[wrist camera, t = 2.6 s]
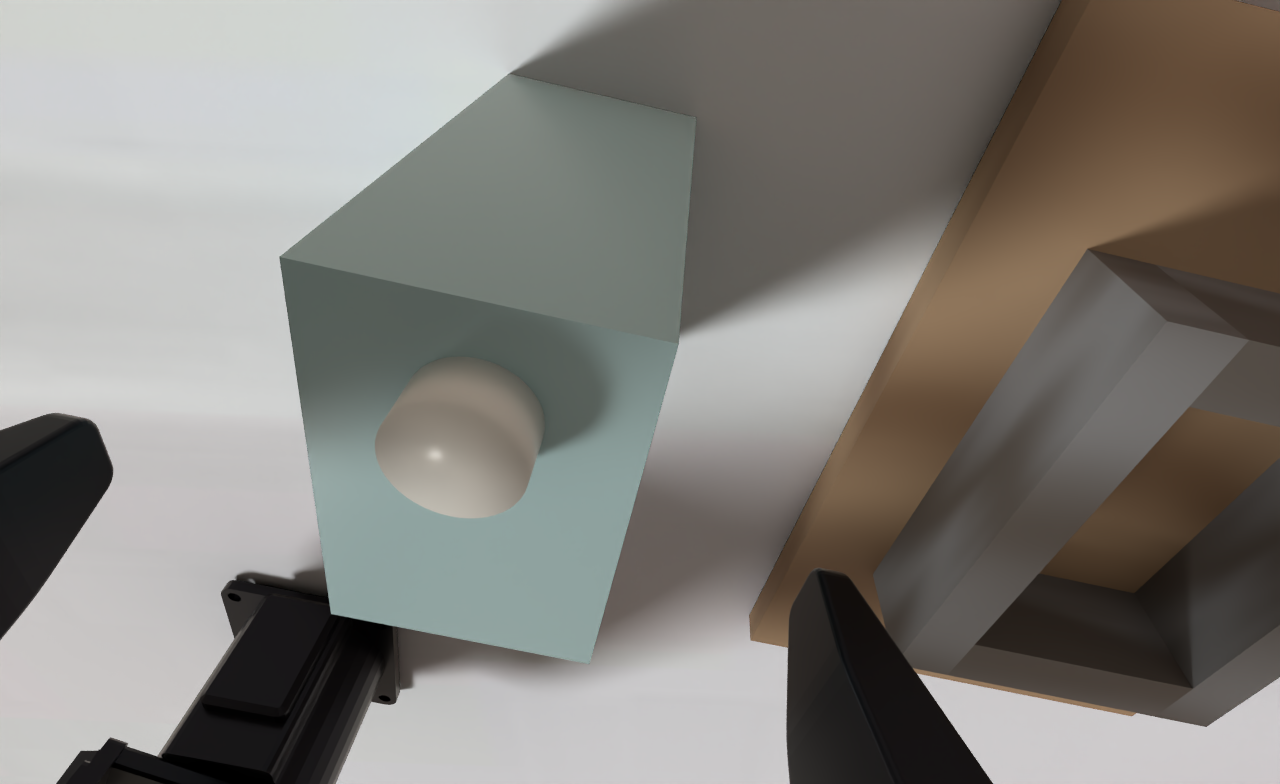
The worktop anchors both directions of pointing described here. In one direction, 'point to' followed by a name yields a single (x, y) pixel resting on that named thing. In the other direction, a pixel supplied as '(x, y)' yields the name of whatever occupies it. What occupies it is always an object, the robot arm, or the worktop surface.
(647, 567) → the worktop surface
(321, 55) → the worktop surface
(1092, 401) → the caddy
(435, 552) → the block
